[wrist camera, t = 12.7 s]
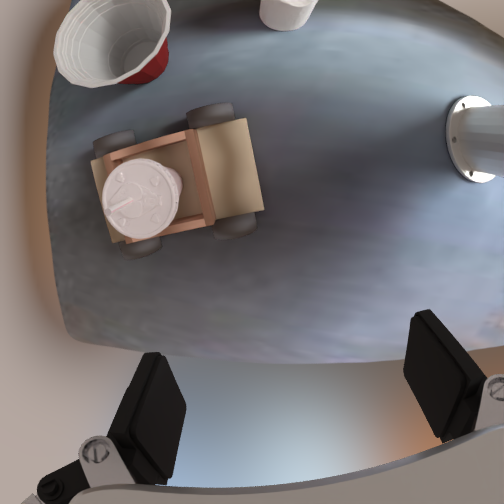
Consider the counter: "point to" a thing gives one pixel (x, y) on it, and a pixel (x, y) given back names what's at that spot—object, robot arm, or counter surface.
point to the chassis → (193, 175)
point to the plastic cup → (113, 42)
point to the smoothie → (141, 197)
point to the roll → (285, 13)
